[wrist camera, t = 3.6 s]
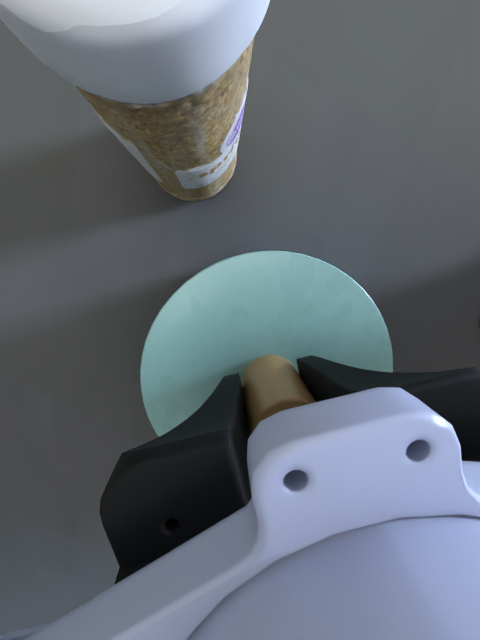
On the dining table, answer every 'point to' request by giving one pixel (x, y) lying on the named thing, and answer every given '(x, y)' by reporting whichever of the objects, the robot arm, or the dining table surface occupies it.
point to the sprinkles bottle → (154, 76)
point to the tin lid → (256, 335)
